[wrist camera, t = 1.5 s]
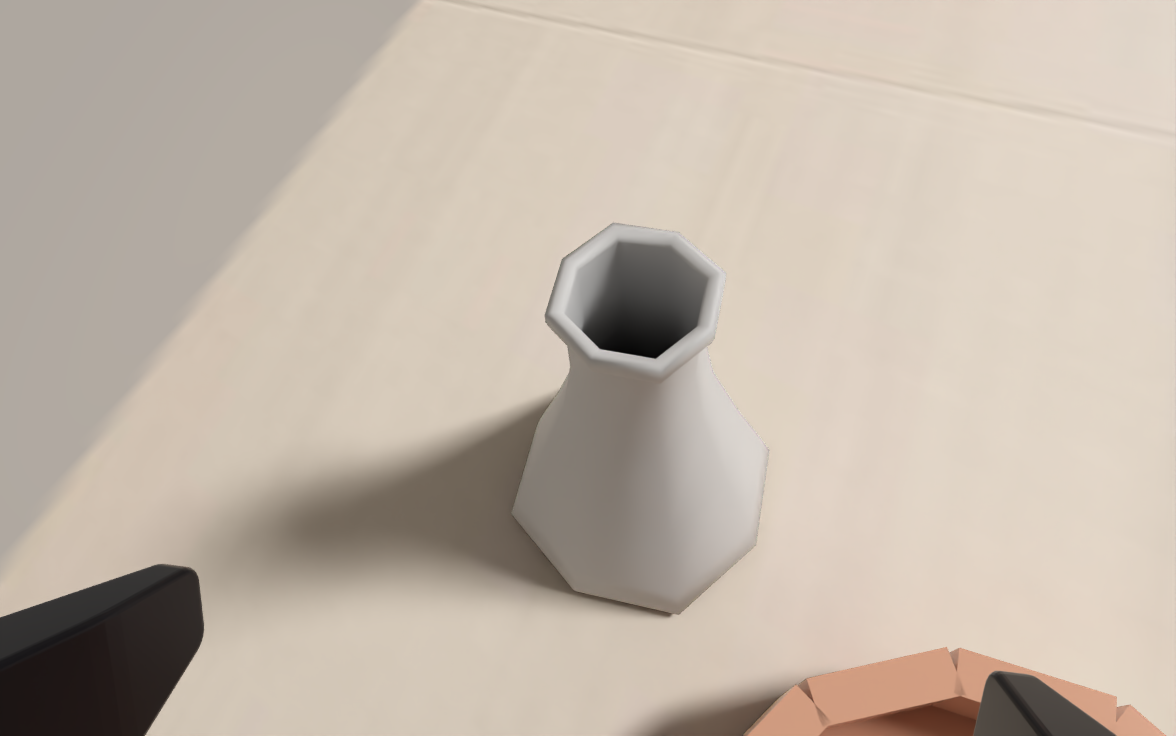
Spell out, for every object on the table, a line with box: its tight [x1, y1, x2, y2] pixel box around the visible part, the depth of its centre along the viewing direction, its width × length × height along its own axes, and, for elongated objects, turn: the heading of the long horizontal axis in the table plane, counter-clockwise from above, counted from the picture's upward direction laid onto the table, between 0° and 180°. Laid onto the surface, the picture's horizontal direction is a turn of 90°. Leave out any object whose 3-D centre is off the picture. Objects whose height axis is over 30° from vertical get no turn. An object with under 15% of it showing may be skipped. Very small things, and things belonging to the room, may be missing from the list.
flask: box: [511, 223, 769, 615], centre depth 19 cm, size 7×7×10 cm
